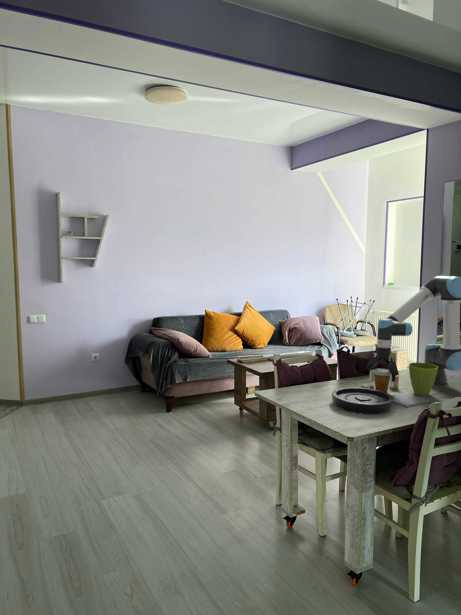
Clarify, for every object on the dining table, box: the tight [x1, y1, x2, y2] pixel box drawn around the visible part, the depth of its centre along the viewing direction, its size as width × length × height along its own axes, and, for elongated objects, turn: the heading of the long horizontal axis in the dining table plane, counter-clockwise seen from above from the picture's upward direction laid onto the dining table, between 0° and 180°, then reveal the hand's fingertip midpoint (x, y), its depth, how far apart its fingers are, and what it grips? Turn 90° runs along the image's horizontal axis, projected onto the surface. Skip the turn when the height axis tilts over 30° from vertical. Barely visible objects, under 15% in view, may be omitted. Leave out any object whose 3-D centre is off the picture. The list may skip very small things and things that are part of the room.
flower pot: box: [408, 362, 438, 397], centre depth 261 cm, size 15×15×16 cm
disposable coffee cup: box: [373, 367, 391, 393], centre depth 265 cm, size 10×10×12 cm
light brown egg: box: [388, 375, 400, 390], centre depth 273 cm, size 5×5×7 cm
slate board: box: [391, 392, 430, 408], centre depth 249 cm, size 18×16×1 cm
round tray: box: [331, 386, 394, 415], centre depth 239 cm, size 30×6×30 cm
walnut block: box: [360, 383, 375, 389], centre depth 259 cm, size 5×5×5 cm
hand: (381, 384), depth 265 cm, fingers open, 13 cm apart
